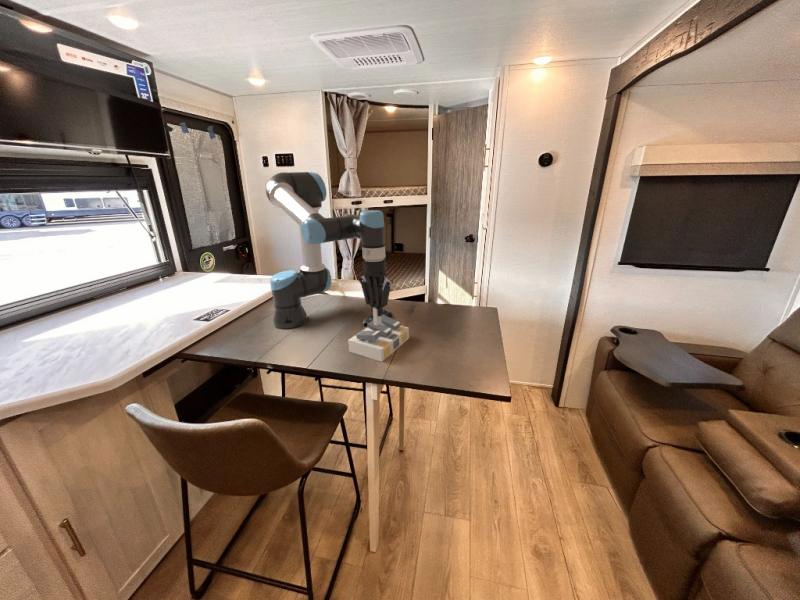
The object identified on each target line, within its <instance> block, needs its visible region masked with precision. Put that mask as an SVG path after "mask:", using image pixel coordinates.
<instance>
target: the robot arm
mask: <svg viewBox="0 0 800 600" xmlns="http://www.w3.org/2000/svg"><path fill="white" fill-rule="evenodd" d="M265 194H266V195H265V196H266V198H267V199H268V201H269V202H270V203H271V204H272V205H273V206H274V207H276V208H279V209H281V210H282V211H284V212H285V214H287V215H288V216H289V217H290V218H291V219H292V220H293V221H294V222H295V223H296V224H297V225H298V228H299V229H298V230H299V238H300V240H299V241H300V248H301V249H300V250H301V258H302V259H301V261H302V264H301V265H300V266H299V272H297V271H296V270H294V269H292V270H291V269H290V270H283V271H281V272H280V271H279V272H278V273H275V274H274V275H272V276H271V277H270V280H269V283H270V290H271V294H272V300H273V306H274V313H273V318H272V323H273V326H274V327H275V328H277V329H284V330H285V329H286V330H287V329H293V328H298V327H300V326H303V325H304V324H306V323H307V322H308V315H307V312H306V311H305V309H304V307H303V305H302V298H306V297H310V296H314V295H315V296H316V295H320V294H322V293H326V292H328V291H329V290H330V288H331V286H332V275H331V272H330V270H329V269H328V268H327V267H326V265H325V264H324V263H323V259H322V245H321V244H324V243H330V242H336V241H337V242H338V241H343V240H352V239H359V240H361V250H362V251H361V252H362V259H363V261H362V267H363V272H364V273H363V276H361V277H358V278H357V279H358V281H359V283H360V285H361V288H362V289H361V290H362V293H363V296H364V301H365V304H366V305H368V306H370V309H371V316H372V315H373V320H374V325H379V324H380V323H381V316H382V315H383V311H384V309H383V308H384V307H386V306H387V305H388V302H389V297H390V292H391V287H392V285H393V284H394V281H393V280H389V278H387V274H386V270H387V269H386V268H387V262H386V259H385V258H386V244H385V242H386V240H385V236H386V235H385V233H386V232H385V225H386V224H385V221H384V213H383V211H382V210H377V209H376V210H375V209H374V210H373V209H370V210H362V211H361V212H360V213H359V215H357V214H345V215H343V216H334V217H324V216H323V215H322V214H321V213H319V212H320V210H321V209H322V207H323V206H322V205H323V204H322V202H324V201H326V199H327V195H328V194H327V187H326V183H325V181H324V179H323V178H322V176H321V175H320V174H318V173H317V172H312V171H311V172H310V171H301V172H300V171H296V172H286V171H285V172H279V173H276V174H274V175H272V176H271V177H270V178H269V179H268V181H267V183H266V185H265Z"/></svg>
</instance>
